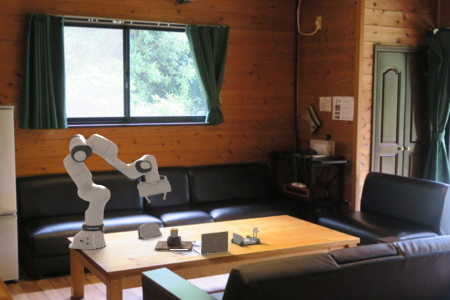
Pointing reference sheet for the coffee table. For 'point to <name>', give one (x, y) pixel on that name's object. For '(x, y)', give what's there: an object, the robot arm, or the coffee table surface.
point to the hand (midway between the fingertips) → (157, 201)
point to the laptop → (214, 242)
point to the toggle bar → (173, 233)
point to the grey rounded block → (148, 230)
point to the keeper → (173, 244)
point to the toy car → (249, 240)
